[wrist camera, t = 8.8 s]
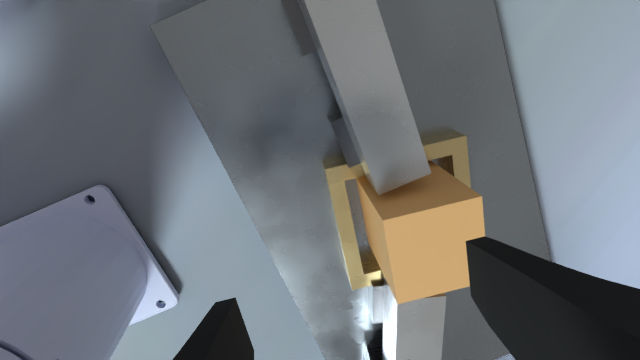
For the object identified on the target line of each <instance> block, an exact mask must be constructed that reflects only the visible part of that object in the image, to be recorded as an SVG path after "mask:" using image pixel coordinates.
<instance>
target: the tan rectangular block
mask: <svg viewBox="0 0 640 360" xmlns="http://www.w3.org/2000/svg"><path fill="white" fill-rule="evenodd" d="M428 164H429V167H430V170H431V174H429V175H426V176H424V177H421V178H419V179H417V180H414V181H412V182H410V183H407V184H405V185H402V186H400V187H398V188H395V189H393V190H390V191H388V192H386V193H383V194H381V195H378V194H377V192H376V191H375V189H374V188H373V186H372V185H371V184H370V182H369V181H368V179H367V178H366V176H362V177H358V178H356V182H357V187H358V192H359V197H360V202H361V208H362V213H363V218H364V223H365V228H366V233H367V238H368V243H369V245H370V247H371V249H372V251H373V254H374V256H375V258H376V260H377V262H378V264H379V266H380V268H381V270H382V273H383V275H384V277H385V279H386V281H387V283H388V285H389V287H390V290H391V292H392V294H393V296H394V298H395V300H396V302H397V304H401V303H405V302H409V301H413V300H417V299H421V298H425V297H429V296H433V295H437V294H441V293H445V292H449V291H453V290H457V289H461V288H465V287H469V286H470V282H469V271H468V261H467V250H466V241H468V240H472V239H476V238H480V237H484V236H485V228H484V215H483V202H482V196H481V195H479V194H478V193H477V192H475V191H474V190H472V189H471V188H469V187H468V186H467V185H465V184H464V183H462V182H461V181H460V180H458V179H457V178H455V177H454V176H452V175H451V174H450V173H448V172H447V171H445V170H444V169H442V168H441V167H440V166H438V165H437V164H435V163H434V162H432V161H431V160H429V161H428Z"/></svg>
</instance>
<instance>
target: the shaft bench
mask: <svg viewBox="0 0 640 360" xmlns="http://www.w3.org/2000/svg"><path fill="white" fill-rule="evenodd" d="M150 27H151V29H152V31H153V33H154V35H155V37H156V39H157V41H158V43H159V44H160V46H161V48H162V50H163V52H164V54H165V56H166V58H167V60H168V62H169V63H170V65H171V67H172V69H173V71H174V73H175V75H176V77H177V79H178V80H179V82H180V84H181V86H182V88H183V90H184V92H185V94H186V96H187V98H188V99H189V101H190V103H191V105H192V107H193V109H194V111H195V113H196V115H197V117H198V118H199V120H200V122H201V124H202V126H203V128H204V130H205V132H206V134H207V136H208V137H209V139H210V141H211V143H212V145H213V147H214V149H215V151H216V153H217V155H218V156H219V158H220V160H221V162H222V164H223V166H224V168H225V170H226V172H227V173H228V175H229V177H230V179H231V181H232V183H233V185H234V187H235V189H236V191H237V192H238V194H239V196H240V198H241V200H242V202H243V204H244V206H245V208H246V210H247V211H248V213H249V215H250V217H251V219H252V221H253V223H254V225H255V227H256V229H257V230H258V232H259V234H260V236H261V238H262V240H263V242H264V244H265V246H266V248H267V249H268V251H269V253H270V255H271V257H272V259H273V261H274V263H275V265H276V266H277V268H278V270H279V272H280V274H281V276H282V278H283V280H284V282H285V284H286V285H287V287H288V289H289V291H290V293H291V295H292V297H293V299H294V301H295V303H296V304H297V306H298V308H299V310H300V312H301V314H302V316H303V318H304V320H305V322H306V323H307V325H308V327H309V329H310V331H311V333H312V335H313V337H314V339H315V341H316V342H317V344H318V346H319V348H320V350H321V352H322V354H323V356H324V358H325V359H326V360H494V359H497V358H499V357H502V356H504V355H507V354H509V353H510V352H509V351H508V349H507V348H506V347H505V346H504V344H503V343H502V342H501V341H500V339H499V338H498V337H497V335H496V334H495V333H494V332H493V330H492V329H491V328H490V326H489V325H488V324H487V322H486V320H485V319H484V317H483V316H482V314H481V312H480V311H479V309H478V307H477V306H476V304H475V302H474V300H473V299H472V297H471V292H470V286H469V287H465V288H461V289H457V290H453V291H449V292H445V293H441V294H437V295H433V296H429V297H425V298H421V299H417V300H413V301H409V302H405V303H401V304H397V302H396V300H395V298H394V296H393V294H392V292H391V290H390V287H389V285H388V283H387V281H386V279H385V277H384V275H383V273H382V270H381V268H380V266H379V264H378V262H377V260H376V258H375V256H374V254H373V251H372V249H371V247H370V245H369V243H368V238H367V233H366V228H365V223H364V218H363V213H362V208H361V202H360V197H359V192H358V187H357V182H356V178H358V177H362V176H366V178H367V179H368V181H369V182H370V184H371V185H372V186H373V188H374V189H375V191H376V192H377V194H378V195H381V194H383V193H386V192H388V191H390V190H393V189H395V188H398V187H400V186H402V185H405V184H407V183H410V182H412V181H414V180H417V179H419V178H421V177H424V176H426V175H429V174H431V170H430V167H429V164H428V161H429V160H431V161H432V162H434V163H435V164H437V165H438V166H440V167H441V168H442V169H444V170H445V171H447V172H448V173H450V174H451V175H452V176H454V177H455V178H457V179H458V180H460V181H461V182H462V183H464V184H465V185H467V186H468V187H469V188H471V189H472V190H474V191H475V192H477V193H478V194H479V195H481V196H482V202H483V215H484V228H485V237H489V238H492V239H494V240H497V241H500V242H502V243H505V244H507V245H510V246H512V247H515V248H517V249H520V250H522V251H525V252H527V253H530V254H532V255H535V256H538V257H540V258H543V259H545V260H548V261H551V259H550V254H549V250H548V245H547V241H546V236H545V231H544V227H543V222H542V218H541V213H540V209H539V204H538V200H537V195H536V190H535V186H534V181H533V177H532V172H531V168H530V163H529V158H528V154H527V149H526V145H525V140H524V136H523V131H522V127H521V122H520V117H519V113H518V108H517V104H516V99H515V95H514V90H513V85H512V81H511V76H510V72H509V67H508V63H507V58H506V54H505V49H504V44H503V40H502V35H501V31H500V26H499V22H498V17H497V12H496V8H495V3H494V0H206V1H204V2H202V3H199V4H197V5H195V6H193V7H190V8H188V9H186V10H184V11H181V12H179V13H177V14H175V15H172V16H170V17H168V18H166V19H163V20H161V21H159V22H157V23H154V24H152V25H150Z"/></svg>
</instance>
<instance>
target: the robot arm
mask: <svg viewBox="0 0 640 360" xmlns="http://www.w3.org/2000/svg"><path fill="white" fill-rule="evenodd" d="M88 195H91V196H93V197H94V199H95V202H92V201H90V200H89V199H88ZM466 250H467V261H468V271H469V282H470V292H471V297H472V299H473V300H474V302H475V304H476V306H477V307H478V309H479V311H480V312H481V314H482V316H483V317H484V319H485V320H486V322H487V324H488V325H489V326H490V328H491V329H492V330H493V332H494V333H495V334H496V335H497V337H498V338H499V339H500V341H501V342H502V343H503V344H504V346H505V347H506V348H507V349H508V351H509V352H510V353H511V354H512V356H513V357H514V358H515V359H516V360H640V289H637V288H634V287H630V286H626V285H622V284H619V283H615V282H611V281H608V280H604V279H601V278H598V277H594V276H591V275H588V274H585V273H582V272H579V271H576V270H573V269H570V268H567V267H564V266H562V265H559V264H556V263H553V262H551V261H548V260H545V259H543V258H540V257H538V256H535V255H532V254H530V253H527V252H525V251H522V250H520V249H517V248H515V247H512V246H510V245H507V244H505V243H502V242H500V241H497V240H494V239H492V238H489V237H485V236H484V237H480V238H476V239H472V240H468V241H466ZM159 300H162V301H164V302H165V304H161V303H160V302H159ZM178 301H179V294H178V293H177V291H176V289H175V288H174V286H173V285H172V283H171V282H170V280H169V279H168V277H167V276H166V274H165V273H164V271H163V270H162V268H161V267H160V265H159V264H158V262H157V261H156V259H155V258H154V256H153V254H152V253H151V251H150V250H149V248H148V247H147V245H146V244H145V242H144V241H143V239H142V238H141V236H140V235H139V233H138V232H137V230H136V229H135V227H134V226H133V224H132V222H131V221H130V219H129V218H128V216H127V215H126V213H125V212H124V210H123V209H122V207H121V206H120V204H119V203H118V201H117V200H116V198H115V197H114V195H113V194H112V192H111V190H110V189H109V188H108V187H106V186H104V185H96V186H93V187H91V188H89V189H87V190H84V191H82V192H80V193H77V194H75V195H73V196H70V197H68V198H66V199H63V200H61V201H59V202H56V203H54V204H52V205H49V206H47V207H45V208H42V209H40V210H38V211H36V212H33V213H31V214H29V215H26V216H24V217H22V218H19V219H17V220H15V221H12V222H10V223H8V224H5V225H3V226H1V227H0V360H109V359H110V358H111V356H112V354H113V352H114V350H115V349H116V347H117V345H118V343H119V341H120V340H121V338H122V336H123V334H124V332H125V331H126V329H127V327H128V326H129V325H132V324H134V323H136V322H139V321H141V320H144V319H146V318H148V317H151V316H153V315H156V314H158V313H160V312H163V311H165V310H168V309H170V308H172V307H174V306H176V305H177V303H178ZM173 360H254V349H253V346H252V344H251V341H250V338H249V335H248V332H247V329H246V326H245V324H244V321H243V318H242V315H241V312H240V309H239V307H238V304H237V301H236V298H232V299H228V300H224V301H220V302H216V303H215V304H214V305H213V307H212V308H211V309H210V310H209V312H208V313H207V315H206V316H205V317H204V319H203V320H202V321H201V323H200V324H199V326H198V327H197V328H196V330H195V331H194V332H193V334H192V335H191V336H190V338H189V339H188V340H187V342H186V343H185V344H184V346H183V347H182V348H181V350H180V351H179V352H178V354H177V355H176V356H175V357H174V359H173Z"/></svg>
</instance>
